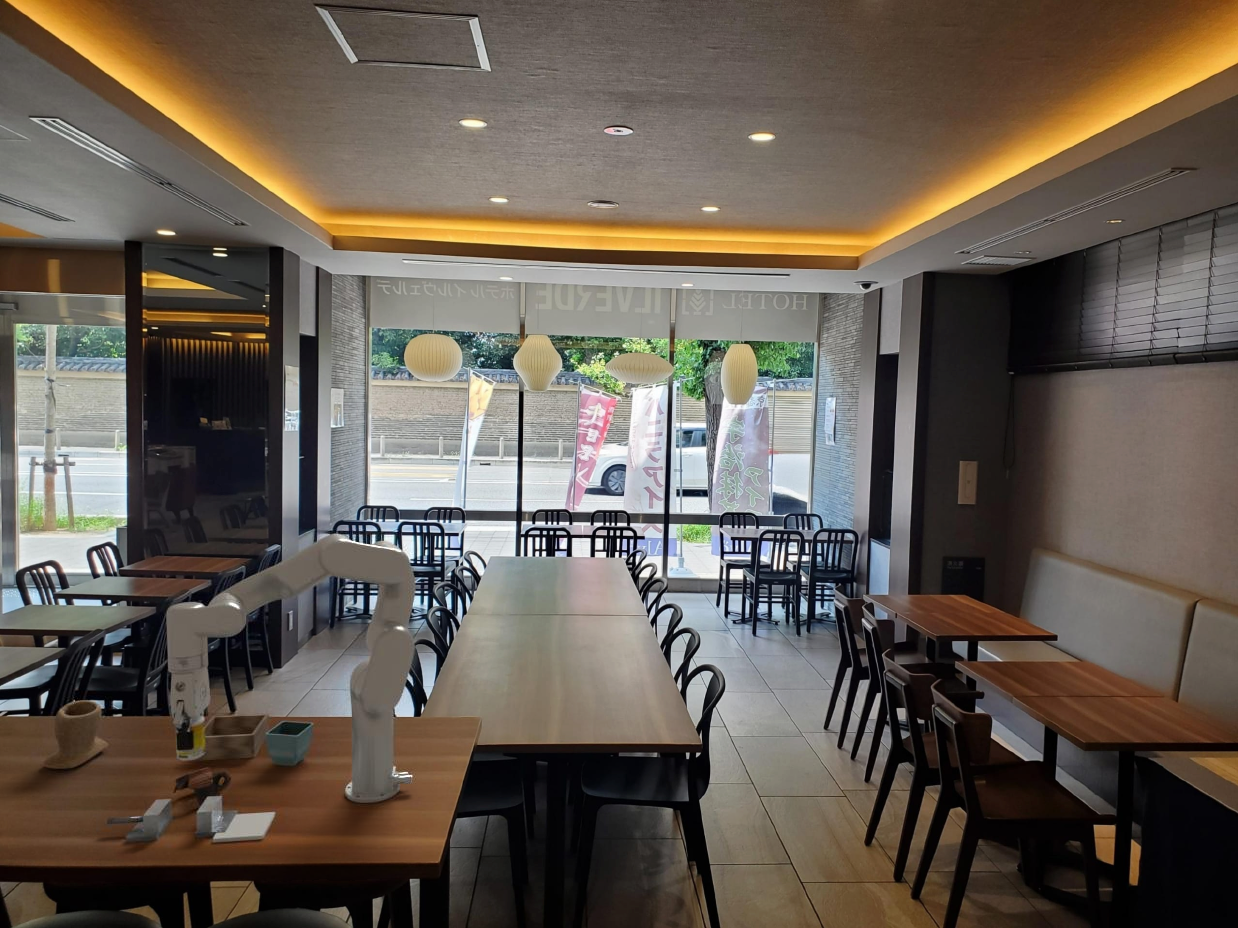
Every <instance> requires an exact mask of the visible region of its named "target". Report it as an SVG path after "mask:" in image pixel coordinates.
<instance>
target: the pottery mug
mask: <svg viewBox="0 0 1238 928" xmlns="http://www.w3.org/2000/svg"><path fill="white" fill-rule="evenodd" d="M222 778H224V781H223V782H222V784H220V780H221V779H222ZM211 780H212V781H211ZM231 781H232V776H231V775H230V773H229V771H226V770H222V771H217V772H216V773H213V772H212V771H211V768H210V767H204V768H201V769H197V770H195V771H191V772H189V773H186V774H184V775H181V776H180V777H178V778H176V779H175V783H176V784H175V786H174V789H173V794H175V793H176V791H183V790H185V789H190V790H193V791H194V793H195V795H196V796H195V797H194V798H191V799H190V800H188V801H187V804H188V806H189V810H190V811H193V810H195V809H199V808H200V807H201V805H202V804H203V803H204V801H205V800H206V798H207V797H212V796H221V794H222V792H223V791H224V790H226V789H228V786H229V785H230V783H231Z"/></svg>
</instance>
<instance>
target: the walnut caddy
mask: <svg viewBox="0 0 1238 928" xmlns="http://www.w3.org/2000/svg"><path fill="white" fill-rule="evenodd" d="M268 731H270V714H269V713H261V714H260V713H259V714H258V713H257V714H238V715H236V714H233V715H215V716H211V718H210V719H209V720H208V721H207V722H206V723H205V754H204V755H203V756H201V757H199V758H197V759H194V761H195V762H196V761H210V760H211V761H213V760H215V761H216V760H233V759H251V758H255V757H256V756H257V755H258V753H259V751H260V750H261V749H262V747H263V745H264V744H265V742H266V733H267V732H268Z"/></svg>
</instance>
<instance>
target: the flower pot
mask: <svg viewBox="0 0 1238 928" xmlns="http://www.w3.org/2000/svg"><path fill="white" fill-rule="evenodd" d="M314 725H315V724H314V723H313V722H304V721H289V720H282V721H280V722H279V723H278V724H276V725H275V726H274V727H272V728H270V729H269V731H268V732H267V733H266V740H265V742H266V746H267V751H268V755H269V757H270V759H271V760H272V761H273V763H274V764H275V765H278V766H290V767H295V766H296V765H297V764H299V762H301V761H302V760H303V759H304V758H305V756H306V754H307V753H308V751H309V749H310V747H311V744H312V737H313V731H314Z"/></svg>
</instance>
